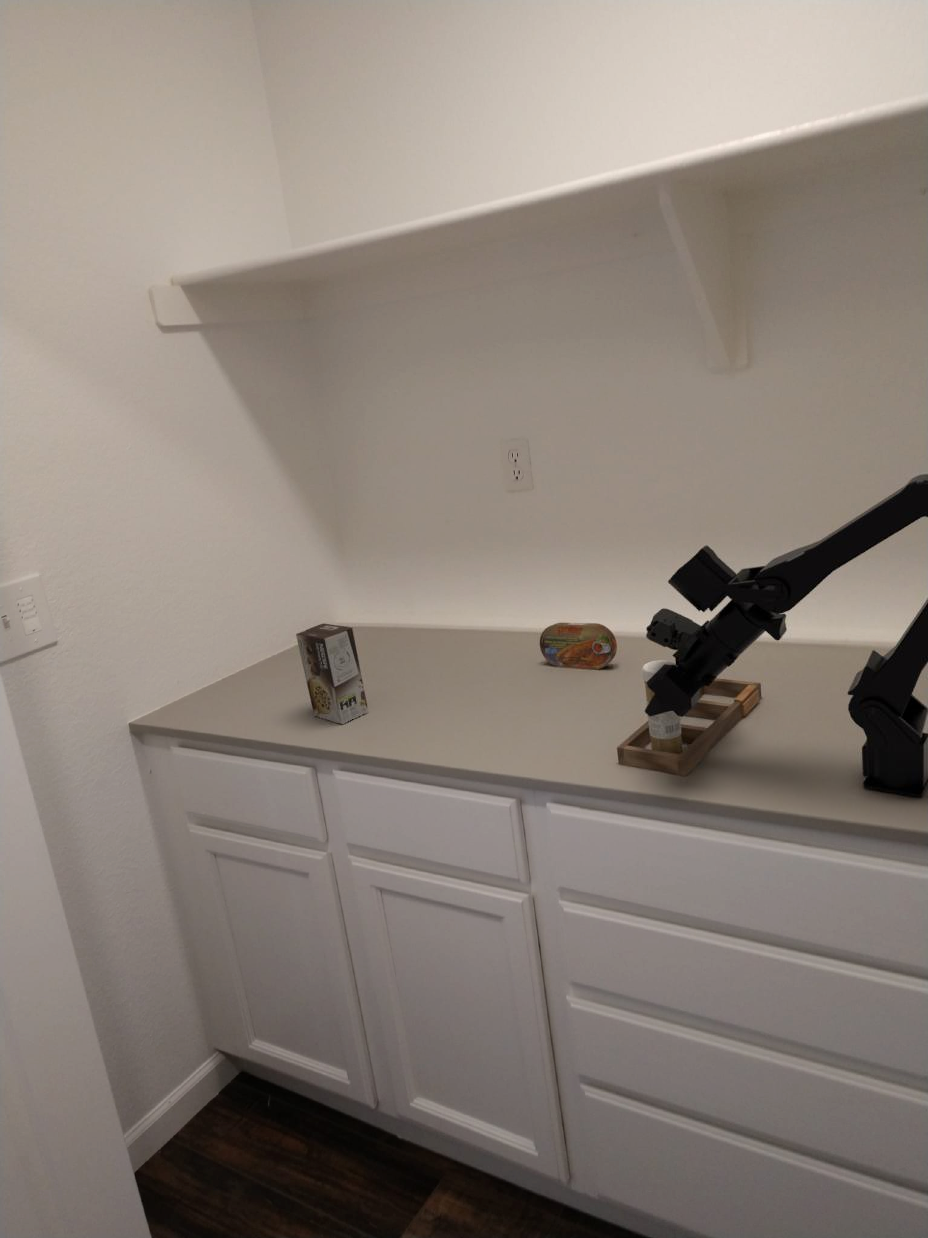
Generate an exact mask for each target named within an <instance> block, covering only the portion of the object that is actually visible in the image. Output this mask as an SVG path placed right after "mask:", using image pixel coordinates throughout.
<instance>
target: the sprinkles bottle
mask: <svg viewBox="0 0 928 1238" xmlns="http://www.w3.org/2000/svg"><path fill="white" fill-rule="evenodd" d="M664 664H668V665H675V666H676V662H675V663H674V662H673V661H670V660H661V659H659V660H652V661H649V662H647V663H646V664H644V665H643V666H642V679H643V682H644V686H645V697H646V707H647V706H648V704H649V702H650V701H651V699H652V697H653V696H654V694H655V693H654V692H653V691H652V690H651V689H650V688H648V686H647V683H646V682H647V681H648V680H649V679H650V678H651V677H652V676H653V675H654V674H655V673H656V672H657V671H658V670H659V669H660V668H661V667H662V666H663V665H664ZM647 719H648V720H647V721H648V722H649V732H650V738H651V742H650V744H651V745H650V746H651V750H656V751H662V752H668V753H674V754H679V755H680V754H681V753H682V752H683V751H684V750H685V749H684V748H683V743H682V738H681V724H682V723H681V716H678V715H677V714H676V713H675V712H673V711H669V712H665V713H662V714H658V715H654V716H648V715H647Z"/></svg>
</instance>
